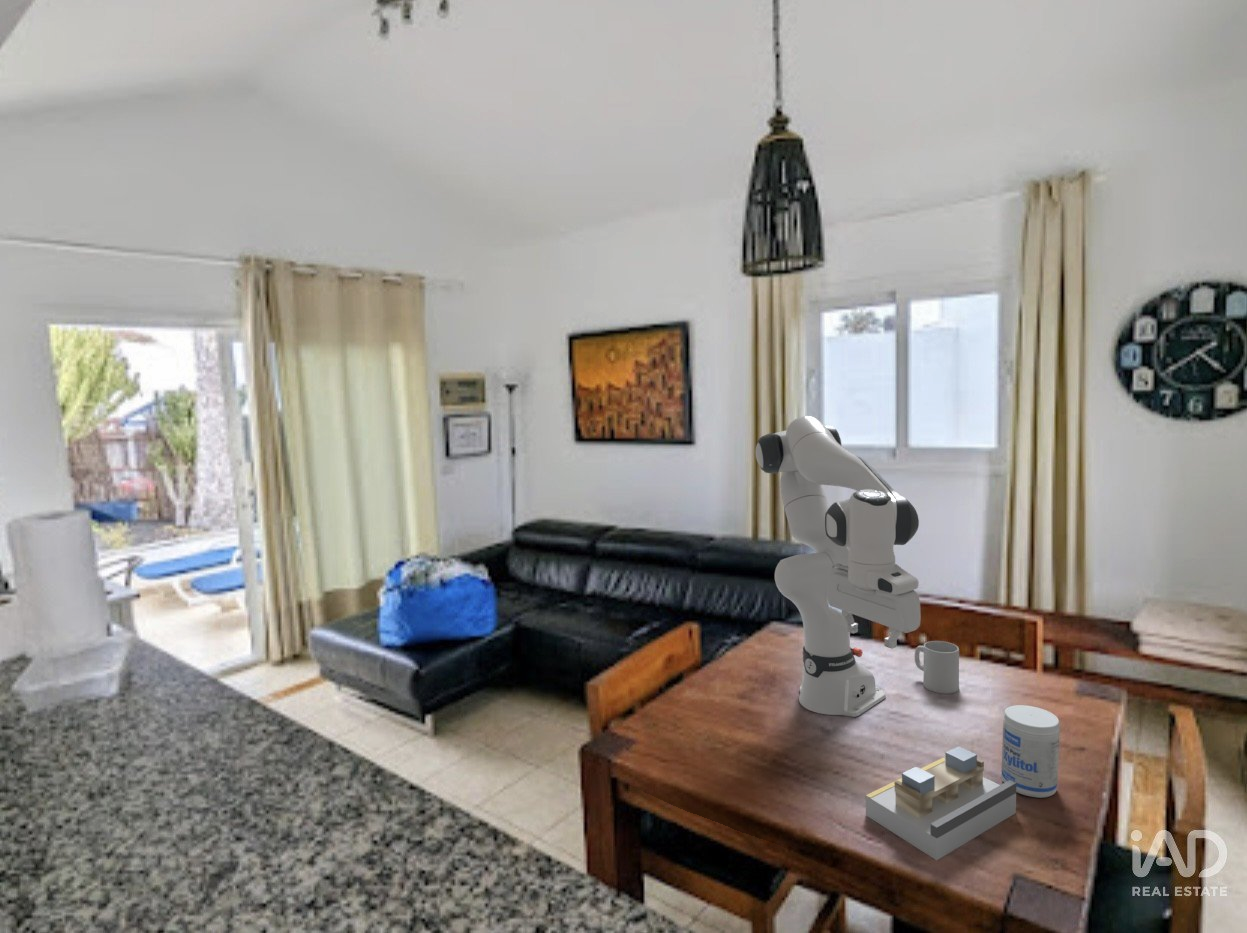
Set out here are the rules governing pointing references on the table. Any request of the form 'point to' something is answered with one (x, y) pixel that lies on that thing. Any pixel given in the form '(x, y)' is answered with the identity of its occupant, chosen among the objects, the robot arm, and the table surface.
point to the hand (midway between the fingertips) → (870, 639)
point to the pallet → (938, 788)
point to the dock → (944, 815)
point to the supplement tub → (1030, 750)
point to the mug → (939, 666)
